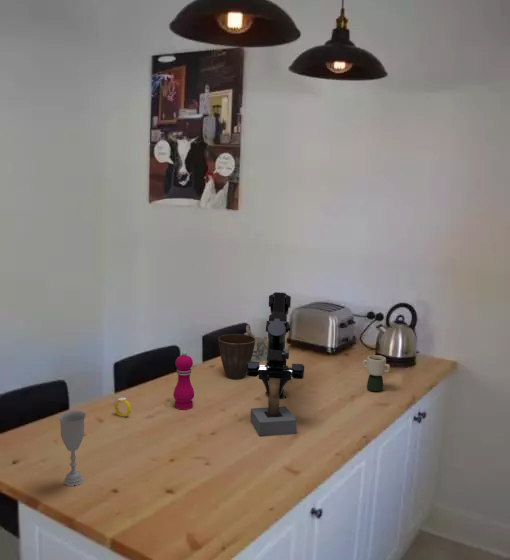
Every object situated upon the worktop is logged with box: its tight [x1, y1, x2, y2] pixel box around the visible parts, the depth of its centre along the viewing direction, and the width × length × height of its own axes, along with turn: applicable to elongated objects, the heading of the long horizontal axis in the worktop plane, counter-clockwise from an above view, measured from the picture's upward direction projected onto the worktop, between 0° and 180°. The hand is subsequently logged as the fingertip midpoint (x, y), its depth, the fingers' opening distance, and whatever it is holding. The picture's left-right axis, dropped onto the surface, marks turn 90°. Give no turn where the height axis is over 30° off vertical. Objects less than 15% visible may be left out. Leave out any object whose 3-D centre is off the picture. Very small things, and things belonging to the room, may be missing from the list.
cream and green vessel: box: [362, 354, 391, 392], centre depth 235 cm, size 11×7×13 cm, turn 56°
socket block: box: [250, 405, 298, 437], centre depth 197 cm, size 12×12×4 cm
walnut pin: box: [267, 378, 280, 414], centre depth 196 cm, size 4×4×11 cm
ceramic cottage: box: [244, 324, 268, 364], centre depth 272 cm, size 16×16×15 cm
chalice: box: [58, 410, 87, 487], centre depth 157 cm, size 7×7×18 cm
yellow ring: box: [114, 397, 132, 418], centre depth 203 cm, size 6×3×6 cm, turn 62°
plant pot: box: [217, 333, 255, 380], centre depth 246 cm, size 15×15×16 cm
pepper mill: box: [172, 350, 195, 411], centre depth 211 cm, size 7×7×20 cm
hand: (273, 394), depth 194 cm, fingers closed on walnut pin, 3 cm apart
